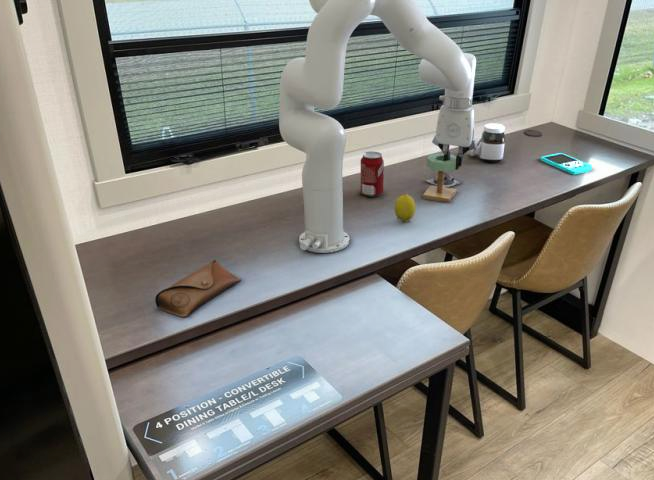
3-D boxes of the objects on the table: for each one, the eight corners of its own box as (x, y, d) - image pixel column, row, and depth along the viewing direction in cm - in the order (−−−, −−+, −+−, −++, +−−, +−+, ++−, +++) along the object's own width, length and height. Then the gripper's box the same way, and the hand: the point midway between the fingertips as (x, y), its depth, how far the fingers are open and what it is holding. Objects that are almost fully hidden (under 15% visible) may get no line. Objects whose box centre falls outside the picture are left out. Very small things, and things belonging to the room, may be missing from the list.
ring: (453, 173, 169) (453, 164, 168) (424, 168, 172) (424, 160, 170) (459, 163, 176) (460, 155, 175) (432, 159, 178) (432, 151, 177)
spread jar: (503, 165, 202) (508, 131, 196) (470, 164, 202) (473, 130, 196) (498, 153, 212) (502, 120, 206) (466, 152, 212) (469, 119, 206)
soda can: (373, 200, 175) (374, 160, 168) (355, 194, 178) (355, 154, 172) (387, 193, 180) (388, 154, 173) (370, 187, 183) (370, 149, 176)
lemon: (418, 222, 163) (420, 194, 159) (405, 228, 160) (406, 200, 155) (403, 215, 166) (404, 188, 162) (389, 221, 163) (390, 194, 158)
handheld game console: (572, 175, 196) (573, 171, 195) (539, 160, 208) (539, 156, 207) (594, 170, 200) (595, 166, 200) (560, 155, 212) (561, 152, 211)
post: (449, 202, 175) (451, 172, 170) (422, 198, 177) (424, 168, 172) (455, 192, 181) (458, 163, 176) (430, 188, 183) (432, 159, 178)
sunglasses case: (186, 317, 121) (169, 288, 119) (167, 323, 125) (150, 296, 124) (244, 278, 135) (229, 252, 133) (225, 285, 139) (210, 259, 137)
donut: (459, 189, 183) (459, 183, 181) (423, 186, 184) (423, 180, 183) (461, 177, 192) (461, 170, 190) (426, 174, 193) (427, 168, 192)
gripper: (425, 102, 162) (421, 167, 172) (484, 108, 158) (477, 175, 168) (433, 95, 168) (428, 159, 178) (490, 102, 164) (482, 167, 174)
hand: (452, 167), depth 173 cm, fingers closed on ring, 2 cm apart
